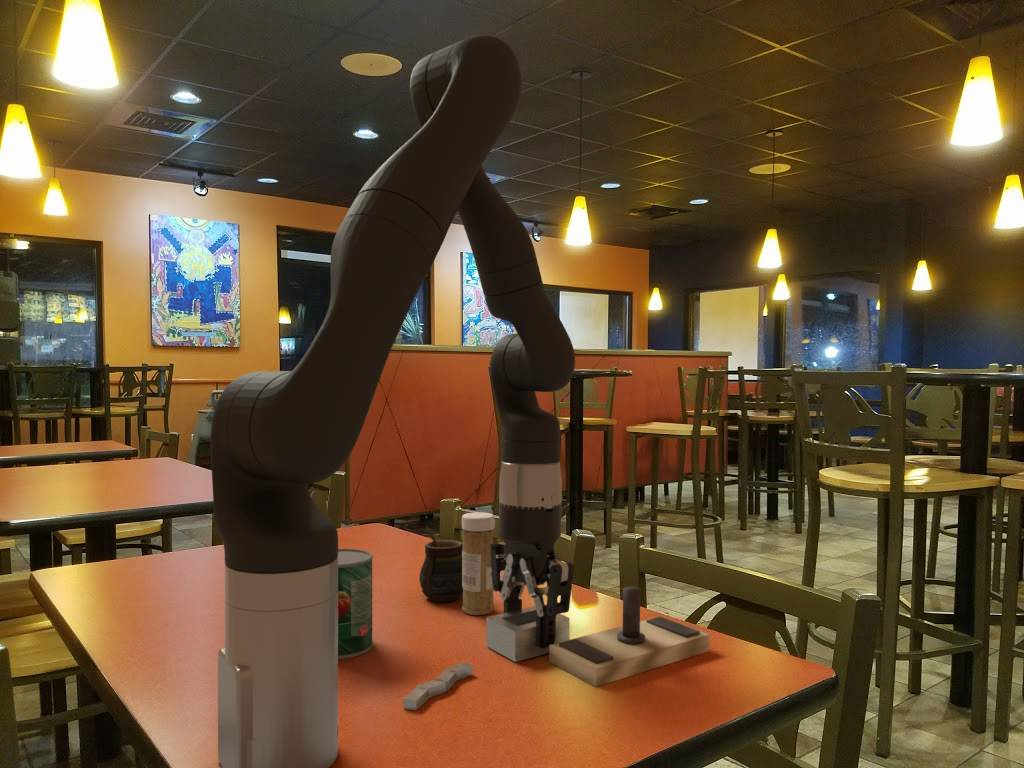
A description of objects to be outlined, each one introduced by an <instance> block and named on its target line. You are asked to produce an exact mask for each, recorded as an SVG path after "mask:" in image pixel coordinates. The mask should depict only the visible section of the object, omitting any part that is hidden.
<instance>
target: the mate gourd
mask: <svg viewBox="0 0 1024 768" xmlns="http://www.w3.org/2000/svg"><path fill="white" fill-rule="evenodd" d="M424 527H425V529H426V530H427V532H428V535H429V536H430V538H431V540H432V541H429V542H427V543H425V544H424V548H425V549H424V553H425V556H424V557H425V558H424V561H423V563H422V566H421V569H420V573H419V578H418V579H419V583H420V588H421V593H423V595H424V596H425V597H426V598H427V599H428V600H430V601H432V602H434V603H436V602H437V603H450V602H454V601H457V600H459V599H460V598H461V597H463V587H462V550H463V542H461V541H458V540H452V539H446V540H445V539H443V540H438V539H437V538H436V537H435V535H434V534H433V532H432V531H431V529H430V527H429V526H424Z"/></svg>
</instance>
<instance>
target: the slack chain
mask: <svg viewBox="0 0 1024 768" xmlns="http://www.w3.org/2000/svg"><path fill="white" fill-rule="evenodd" d="M472 675H473V665H472V664H470V663H467V662H464V661H463V662H460V663H457V664H455V665H453V666H452V665H451V666H449V667H446V668H444V670H443V671H442V672H441V673H440V674H439V675H438V676H437V677H436V678H435V679H432V680H429V681H425V682H423V683H420V684H415V688H413V690H411V691H410V692H409V693H408V694H407V695H405V696H404V697H403V699H402V700H403V707H402V708H403V709H405V710H410V711H411V710H412V711H417V710H419V709H420V707H422V706H423V705H424V704H425V703H426V702H427V701H429V699H430V698H432V697H435V696H439V695H442V694H445V693H447V692H449V690H450V689H451V688H452V687H453V686H454V684H455V683H456V681H459V680H462V679H465V678H467V677H470V676H472Z"/></svg>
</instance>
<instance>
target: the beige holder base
mask: <svg viewBox="0 0 1024 768" xmlns="http://www.w3.org/2000/svg"><path fill="white" fill-rule="evenodd" d="M707 652H710V634H709V633H707V632H704V631H701V630H699V629H697V628H694V627H691V626H687V625H685V624H682V623H680V622H677V621H674V620H672V619H669V618H667V617H664V616H661V615H659V616H655V617H651V618H648V619H643V620H641V588H640V587H638V586H632V585H629V586H627V585H626V586H624V587H623V588H622V625H621V626H617V627H613V628H610V629H606V630H602V631H598V632H594V633H590V634H587V635H583V636H579V637H576V638H573V639H571V638H570V639H569V640H567V641H563V642H559V643H556V644H552V645H549V653H548V654H549V657H548V659H549V661H548V662H549V664H552V665H554V667H557V668H559V669H561V670H563V672H564V671H565V672H567V673H568V674H569V675H572V676H574V677H576V678H578V679H580V680H582V681H584V682H585V683H587V684H589V685H591V686H593V687H595V688H596V687H600V686H604V685H607V684H610V683H613V682H616V681H620V680H622V679H626V678H628V677H632V676H635V675H639V674H641V673H644V672H648V671H650V670H654V669H657V668H659V667H664V666H666V665H670V664H673V663H675V662H678V661H682V660H686V659H688V658H692V657H695V656H698V655H701V654H704V653H707Z"/></svg>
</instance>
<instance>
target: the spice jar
mask: <svg viewBox="0 0 1024 768" xmlns="http://www.w3.org/2000/svg"><path fill="white" fill-rule="evenodd" d="M495 519H496V518H495V515H494V514H493V513H490V512H478V511H476V512H467V513H463V515H462V516H461V529H462V530H461V531H462V544H463V550H462V587H463V595H462V605H461V610H462V612H463V613H465V614H467V615H472V616H485V615H488V614H489V615H490V614H491V613H492V612H494V610H495V605H494V590H493V584H492V568H491V553H490V545H491V544H492V543H494V530H495V526H496V525H495V524H496V523H495V522H496V521H495Z"/></svg>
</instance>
